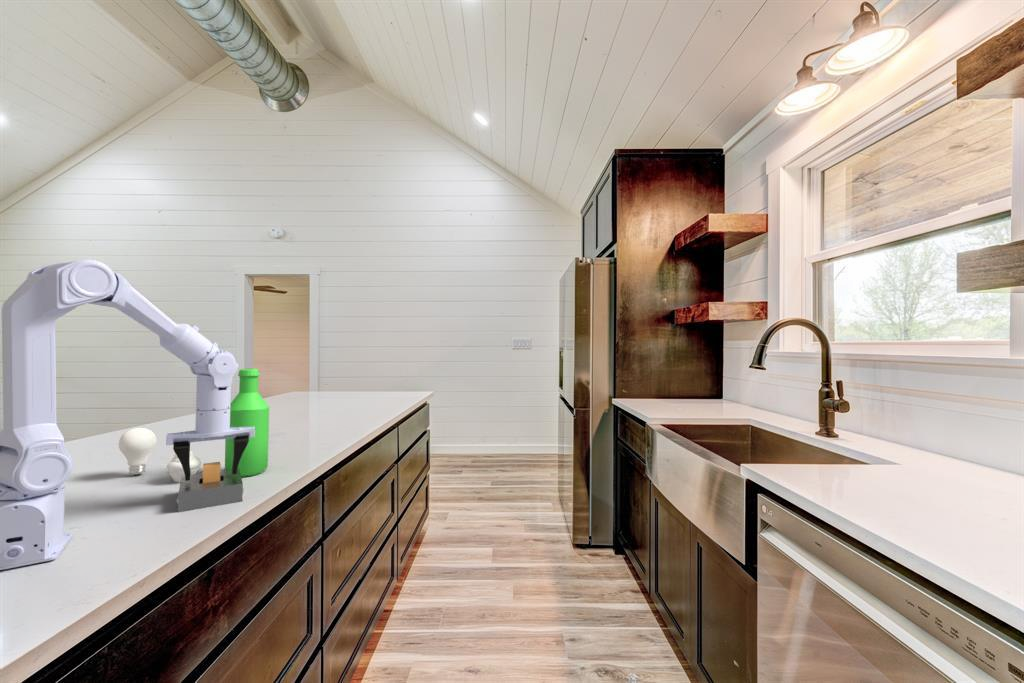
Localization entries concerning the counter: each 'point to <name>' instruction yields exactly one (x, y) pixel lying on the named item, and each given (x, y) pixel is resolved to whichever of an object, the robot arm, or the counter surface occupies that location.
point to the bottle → (249, 425)
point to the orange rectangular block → (211, 472)
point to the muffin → (177, 469)
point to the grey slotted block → (209, 491)
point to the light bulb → (137, 448)
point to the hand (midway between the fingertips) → (211, 476)
